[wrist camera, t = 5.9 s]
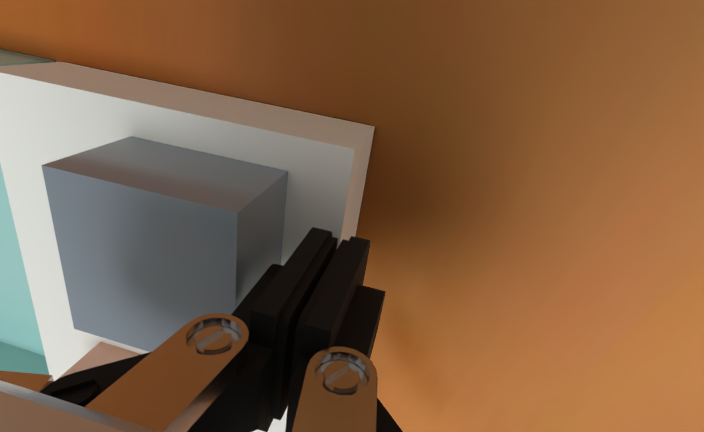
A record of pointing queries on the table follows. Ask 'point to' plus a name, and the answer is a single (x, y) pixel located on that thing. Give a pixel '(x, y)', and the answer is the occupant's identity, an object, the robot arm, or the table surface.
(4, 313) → the tray
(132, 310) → the grey block
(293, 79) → the table surface
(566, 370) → the table surface
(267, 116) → the white flat block
